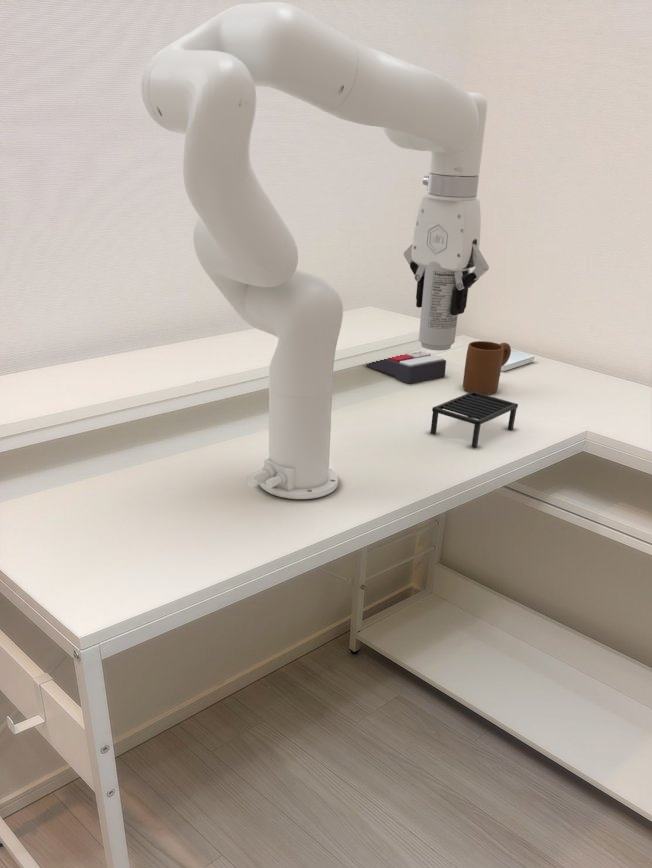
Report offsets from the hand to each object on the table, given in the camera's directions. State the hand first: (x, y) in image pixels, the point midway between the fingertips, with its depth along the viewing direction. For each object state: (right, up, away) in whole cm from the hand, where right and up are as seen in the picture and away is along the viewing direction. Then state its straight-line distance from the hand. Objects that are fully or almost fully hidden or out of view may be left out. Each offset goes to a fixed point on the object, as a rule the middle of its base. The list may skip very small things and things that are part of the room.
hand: (440, 308), depth 132 cm
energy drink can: (0, -5, +3) cm, 6 cm away
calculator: (-2, +4, +50) cm, 50 cm away
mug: (+16, -2, +43) cm, 46 cm away
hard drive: (+23, +9, +60) cm, 65 cm away
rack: (+9, -16, +20) cm, 27 cm away
